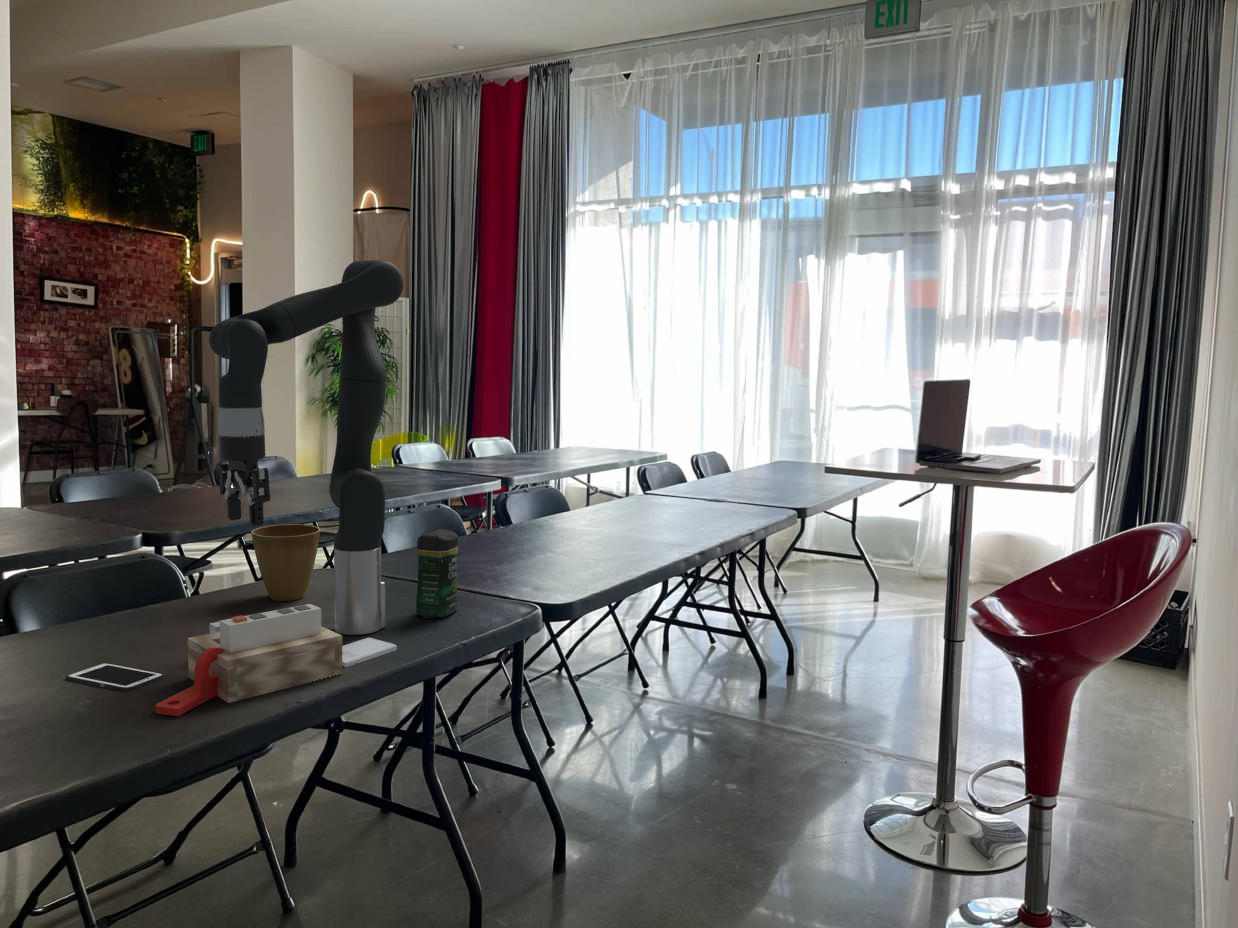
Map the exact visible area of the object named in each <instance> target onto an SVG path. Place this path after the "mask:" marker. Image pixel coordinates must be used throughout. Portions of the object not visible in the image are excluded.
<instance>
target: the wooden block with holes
mask: <svg viewBox="0 0 1238 928" xmlns="http://www.w3.org/2000/svg"><path fill="white" fill-rule="evenodd" d="M342 646H343V634H341V633H338V632H336V631H332V630H331V629H328V628H327V627H324V626H322V625H321V633H320V634H316V635H311V636H306V637H302V638H297V639H292V640H288V641H283V642H278V643H274V644H269V645H264V646H260V647H255V648H250V649H246V650H241V651H236V652H232V653H230V652H228V651H226V650H225V649H223V648H221V647H220V632H216V633H211V634H210V633H206V634H202V635H195V636H192V637H188V638H187V662H188V663H187V664H188V665H187V666H188V667H187V668H188V678H189V679H190V680H192V681H193V682H194V670H195V665H196V662H197V660H198V658H199V656H200V655H201V654H202V652H203V651H205V650H206V649H208V648H211V647H213V648H221V649H223V650H224V651H223V652H221V653H219V654H217V660H216V661H214V662H212V663H211V665H210V667H209V676H211V675H212V673H213V671H214V672H215V674H216V675H217V685H218V695H217V696H216V697H218V698H220V699H221V700H223V701H225V702H226V703H227V704H230V703H233V702H235V703H236V702H238V701H242V700H246V699H250V698H254V697H257V696H262V695H266V694H268V693H270V694H271V693H273V692H276V691H281V690H284V689H289V688H294V687H297V686H301V685H305V684H308V683H313V682H316V680H317V681H320V680H319V679H321V680H324V679H323V678H325V679H328V678H327V677H329V678H332V676H333V677H335V675H336V676H340V675H343V666H342ZM339 674H340V675H339ZM312 681H313V682H312Z"/></svg>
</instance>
